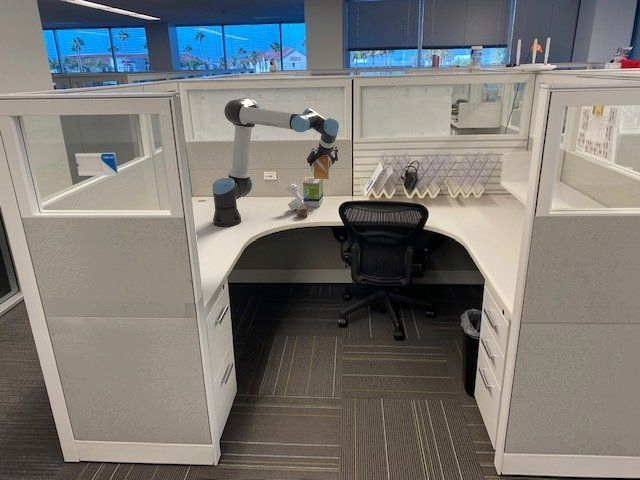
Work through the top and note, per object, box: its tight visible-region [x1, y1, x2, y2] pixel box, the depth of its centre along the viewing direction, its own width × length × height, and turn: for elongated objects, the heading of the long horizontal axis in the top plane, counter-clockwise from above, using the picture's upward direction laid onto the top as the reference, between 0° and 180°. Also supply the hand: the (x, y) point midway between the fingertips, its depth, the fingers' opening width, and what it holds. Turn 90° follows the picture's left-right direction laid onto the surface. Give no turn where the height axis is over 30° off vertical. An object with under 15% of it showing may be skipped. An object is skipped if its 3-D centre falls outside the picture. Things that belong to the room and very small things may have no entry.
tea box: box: [302, 177, 324, 208], centre depth 284 cm, size 15×10×15 cm, turn 171°
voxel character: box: [285, 183, 304, 212], centre depth 272 cm, size 7×12×15 cm
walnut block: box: [296, 205, 308, 219], centre depth 262 cm, size 5×5×5 cm
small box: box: [313, 155, 330, 180], centre depth 256 cm, size 8×6×13 cm
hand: (320, 167), depth 259 cm, fingers closed on small box, 9 cm apart
